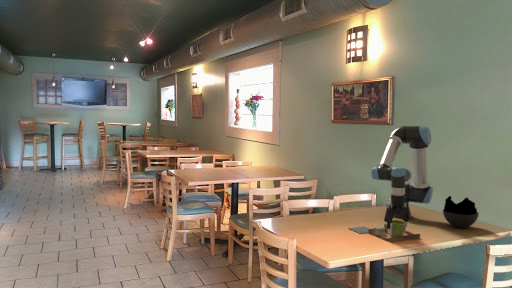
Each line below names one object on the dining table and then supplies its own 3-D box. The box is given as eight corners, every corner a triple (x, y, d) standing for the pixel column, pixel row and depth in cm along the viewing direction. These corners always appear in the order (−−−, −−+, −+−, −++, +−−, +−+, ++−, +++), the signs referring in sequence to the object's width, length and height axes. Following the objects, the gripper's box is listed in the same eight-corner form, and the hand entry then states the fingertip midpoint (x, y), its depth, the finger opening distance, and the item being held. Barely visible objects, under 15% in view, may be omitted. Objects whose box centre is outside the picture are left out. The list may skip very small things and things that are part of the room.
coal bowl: (485, 229, 248) (486, 199, 247) (460, 232, 241) (462, 201, 240) (458, 222, 267) (460, 193, 266) (435, 224, 260) (436, 195, 259)
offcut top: (384, 224, 241) (388, 223, 242) (384, 232, 242) (388, 231, 243) (388, 225, 237) (392, 225, 239) (388, 234, 238) (392, 233, 239)
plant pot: (408, 236, 232) (408, 221, 232) (401, 240, 225) (401, 225, 225) (392, 233, 239) (392, 219, 238) (385, 236, 232) (385, 222, 231)
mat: (348, 228, 249) (348, 228, 249) (364, 226, 253) (364, 226, 253) (360, 233, 238) (360, 233, 238) (376, 231, 242) (376, 231, 242)
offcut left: (372, 233, 238) (372, 227, 238) (380, 232, 241) (380, 226, 240) (377, 235, 235) (377, 228, 234) (385, 234, 237) (385, 227, 237)
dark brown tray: (368, 233, 239) (368, 229, 239) (396, 229, 247) (396, 225, 247) (390, 242, 222) (390, 237, 221) (420, 238, 229) (420, 233, 229)
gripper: (386, 196, 223) (385, 237, 224) (417, 194, 231) (416, 233, 233) (377, 194, 230) (376, 233, 231) (408, 192, 238) (407, 229, 239)
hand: (396, 233), depth 232 cm, fingers closed on plant pot, 9 cm apart
